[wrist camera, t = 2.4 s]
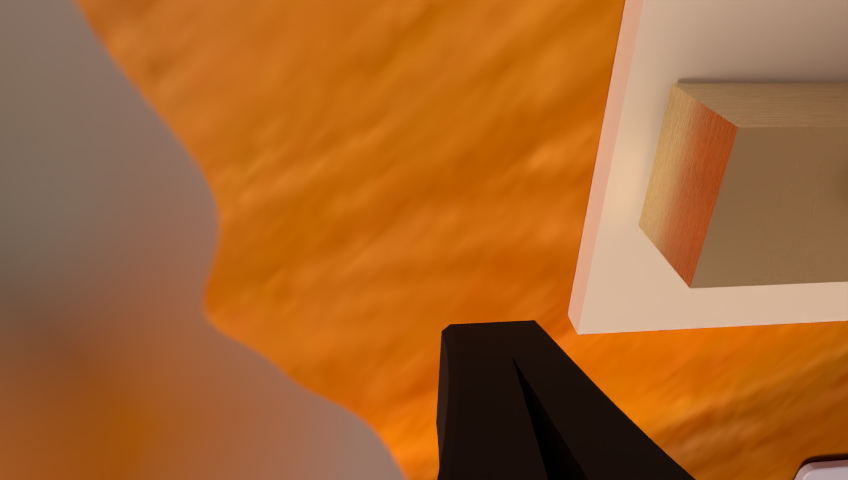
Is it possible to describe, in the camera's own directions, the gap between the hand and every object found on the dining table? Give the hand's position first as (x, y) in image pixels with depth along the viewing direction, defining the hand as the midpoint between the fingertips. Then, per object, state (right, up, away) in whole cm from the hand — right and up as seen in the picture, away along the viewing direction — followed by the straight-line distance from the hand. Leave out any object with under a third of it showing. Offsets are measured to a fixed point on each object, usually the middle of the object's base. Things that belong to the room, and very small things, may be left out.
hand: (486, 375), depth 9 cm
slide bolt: (+10, +4, +8) cm, 13 cm away
